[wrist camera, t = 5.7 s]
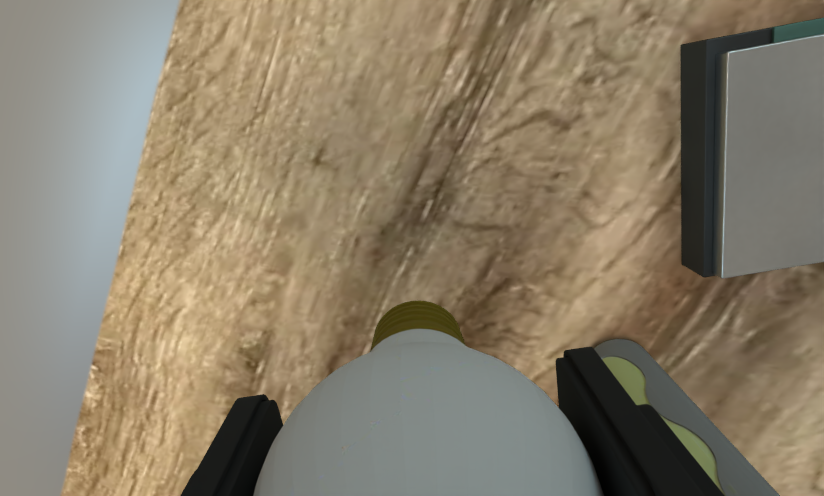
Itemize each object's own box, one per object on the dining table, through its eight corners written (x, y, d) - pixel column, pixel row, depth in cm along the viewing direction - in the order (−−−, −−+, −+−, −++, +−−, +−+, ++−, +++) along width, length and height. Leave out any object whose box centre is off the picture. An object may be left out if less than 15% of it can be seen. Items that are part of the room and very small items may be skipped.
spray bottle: (565, 371, 34) (767, 710, 15) (612, 322, 33) (894, 624, 14) (612, 405, 35) (859, 766, 16) (660, 359, 34) (984, 688, 15)
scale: (680, 44, 28) (718, 37, 24) (888, 6, 27) (955, -8, 24) (681, 264, 32) (713, 283, 29) (861, 234, 31) (915, 250, 28)
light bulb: (548, 309, 15) (817, 698, 5) (434, 436, 16) (479, 929, 6) (395, 199, 14) (374, 436, 4) (287, 346, 15) (80, 783, 5)
